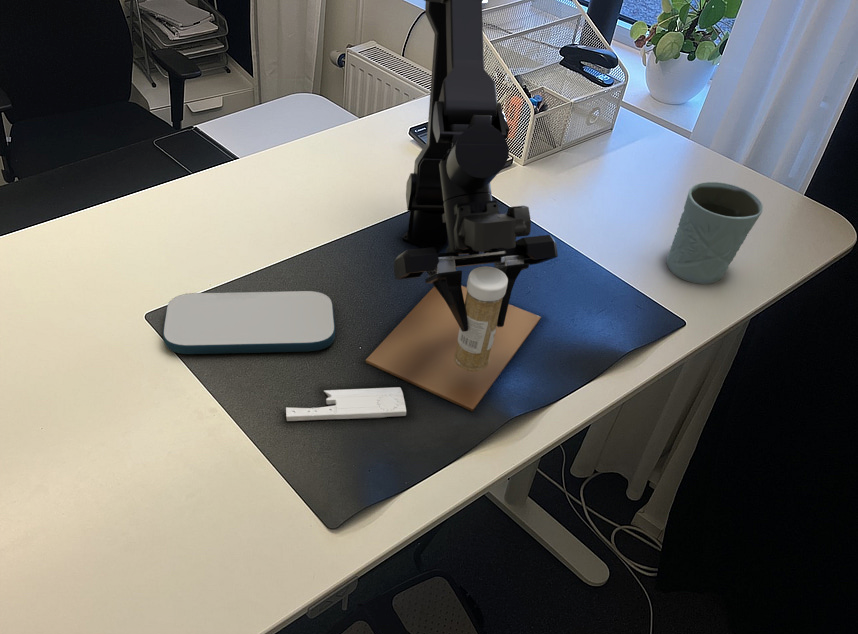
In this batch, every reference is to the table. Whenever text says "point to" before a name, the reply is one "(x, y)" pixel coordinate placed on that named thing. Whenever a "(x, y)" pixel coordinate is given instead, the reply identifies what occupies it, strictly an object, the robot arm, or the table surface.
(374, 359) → the cork placemat
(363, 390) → the white plastic blade
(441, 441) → the table surface
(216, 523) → the table surface
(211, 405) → the table surface
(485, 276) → the sprinkles bottle
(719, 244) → the green ceramic cup
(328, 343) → the external hard drive
